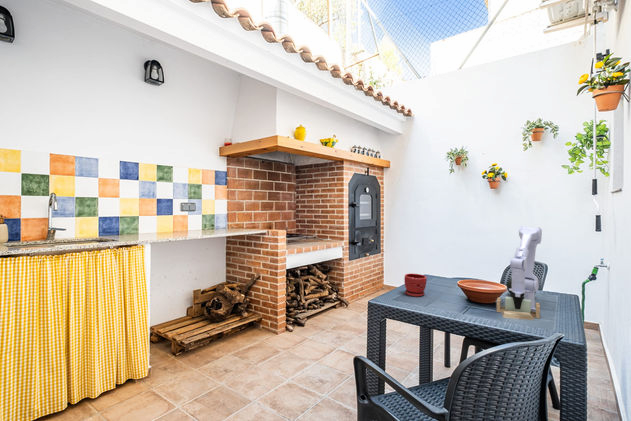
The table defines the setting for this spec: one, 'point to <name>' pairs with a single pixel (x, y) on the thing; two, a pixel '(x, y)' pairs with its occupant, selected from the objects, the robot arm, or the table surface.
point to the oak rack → (500, 309)
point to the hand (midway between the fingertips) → (517, 307)
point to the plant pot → (415, 284)
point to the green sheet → (524, 306)
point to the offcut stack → (517, 315)
